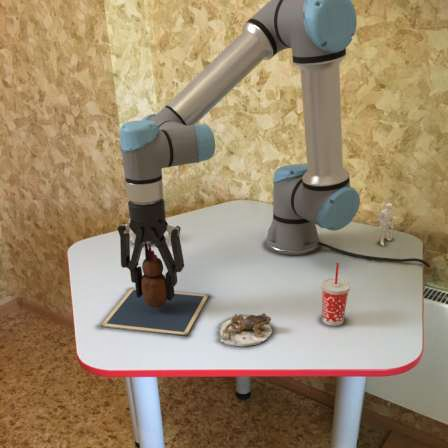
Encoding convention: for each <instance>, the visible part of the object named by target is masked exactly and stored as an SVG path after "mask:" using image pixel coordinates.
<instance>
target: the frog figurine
mask: <svg viewBox="0 0 448 448" xmlns="http://www.w3.org/2000/svg"><path fill="white" fill-rule="evenodd" d="M271 320H272V318H271V316H268V315H267V314H266V313H261V314H258V315H255V314H249V315H247V316H244V315H242V314H238V315H237V313H235V314H234V315H233V316H232V317H231V318H230V319H228V320H227V321H224V322H223V323H221V324H220V325H219V332H220V339H219V340H220V342H222V343H223V344H225V345H228V346H232V347H241V348H242V347H243V348H245V347H249V346H250V347H251V346H257V345H258V344H261V343H263V342H265V341H267V339H268V338H269V337H271V335H272V334H273V329H272V326H271V325H270V323H271Z"/></svg>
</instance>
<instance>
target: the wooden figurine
mask: <svg viewBox="0 0 448 448" xmlns="http://www.w3.org/2000/svg"><path fill="white" fill-rule="evenodd" d="M144 243H145V245H144V255H145V257H144V258H145V259H144V260H143V261H142V264H141V268H142V279H141V289H142V294H143V297H144V299H145V302H146V303H147V304H148V305H149V306H151V307H160V306H163V305H164V304H165V303H166V301H167V299H168V298H167V287H166V276H165V274H163V272H164V264H163V260H161V258H160V257H158V256H157V254H156V253H155V251H154V250H152V246H151V244H147V243H146V242H144Z"/></svg>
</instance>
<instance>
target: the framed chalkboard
mask: <svg viewBox="0 0 448 448" xmlns="http://www.w3.org/2000/svg"><path fill="white" fill-rule="evenodd" d="M174 294H175V295H174V297H173V298H172V300H171V301H170V300H168V299H167V301H166V303H165V304H164V305H163V306H160V307H151V306H149V305H148V304H147V303H146V302H145V299H144V297H143V294H142V296H141V297H140V298H139V297H137V294H136V287H130V289H129V290H128V291H127V293H126V294H125V295H124V296H123V298H122V299H121V300H120V302H118V304H116V306H115V307H114V308H113V310H112V311H111V312H110V313H109V314H108V316H107V317H106V318H105V320H104V321H103V322H102V323H101V324H100V327H101V328H109V329H116V330H117V329H120V330H128V331H136V332H146V333H154V334H163V335H171V336H181V337H188V335H189V333H190V331H191V330H192V328H193V327H194V324H195V322H196V320H197V318H198V317H199V314H200V313H201V311H202V310H203V307H204V306H205V304H206V302H207V300H208V299H209V297H210V295H209V294H202V293H193V292H182V291H181V292H179V291H174Z"/></svg>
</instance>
